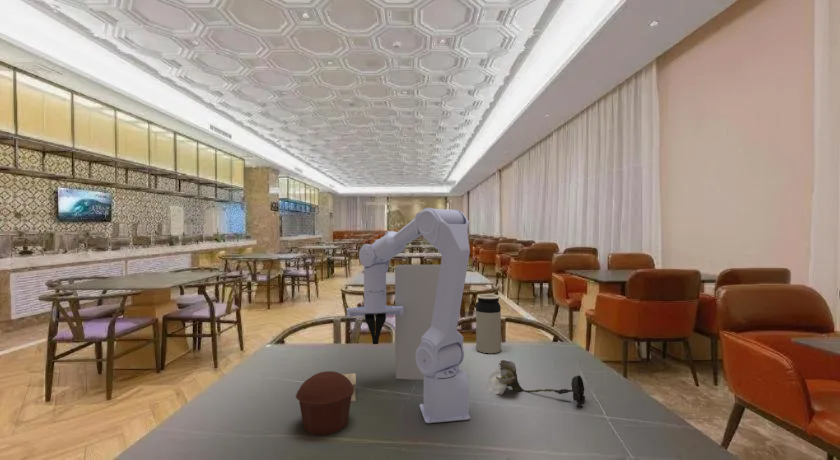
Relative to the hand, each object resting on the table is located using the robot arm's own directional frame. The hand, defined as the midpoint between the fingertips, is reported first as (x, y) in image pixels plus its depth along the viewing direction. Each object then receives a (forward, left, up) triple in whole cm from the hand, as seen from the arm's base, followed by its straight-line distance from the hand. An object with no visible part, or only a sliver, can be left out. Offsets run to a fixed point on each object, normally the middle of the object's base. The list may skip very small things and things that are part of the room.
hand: (375, 343), depth 99 cm
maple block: (+5, +6, -9) cm, 12 cm away
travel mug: (-38, -21, -11) cm, 45 cm away
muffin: (+11, +19, -11) cm, 24 cm away
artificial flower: (-36, +14, -11) cm, 40 cm away
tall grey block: (-13, -3, -11) cm, 17 cm away
